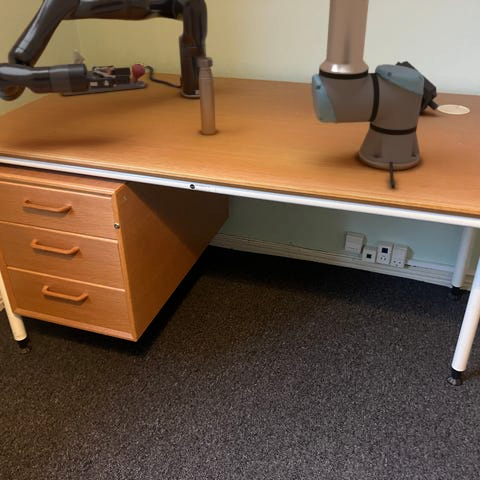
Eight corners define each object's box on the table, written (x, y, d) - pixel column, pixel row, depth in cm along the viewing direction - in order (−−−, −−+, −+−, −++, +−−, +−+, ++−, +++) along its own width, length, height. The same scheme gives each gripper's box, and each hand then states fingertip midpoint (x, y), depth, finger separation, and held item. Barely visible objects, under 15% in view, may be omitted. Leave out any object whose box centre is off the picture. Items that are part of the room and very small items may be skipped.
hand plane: (62, 90, 197) (53, 48, 189) (145, 82, 205) (140, 41, 197) (62, 96, 191) (54, 53, 184) (148, 87, 199) (143, 45, 191)
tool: (376, 92, 179) (403, 55, 168) (419, 129, 175) (449, 94, 164) (367, 96, 175) (394, 59, 164) (411, 135, 171) (441, 99, 160)
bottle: (210, 128, 161) (206, 57, 150) (218, 132, 158) (215, 60, 147) (198, 131, 159) (194, 60, 148) (207, 135, 156) (203, 62, 145)
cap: (207, 63, 150) (206, 56, 149) (215, 66, 148) (215, 58, 147) (194, 65, 148) (194, 58, 147) (203, 68, 146) (203, 61, 145)
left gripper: (64, 71, 136) (128, 67, 138) (69, 58, 148) (128, 55, 150) (69, 100, 140) (132, 96, 142) (74, 85, 152) (132, 82, 154)
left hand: (130, 75), depth 146 cm, fingers open, 8 cm apart
